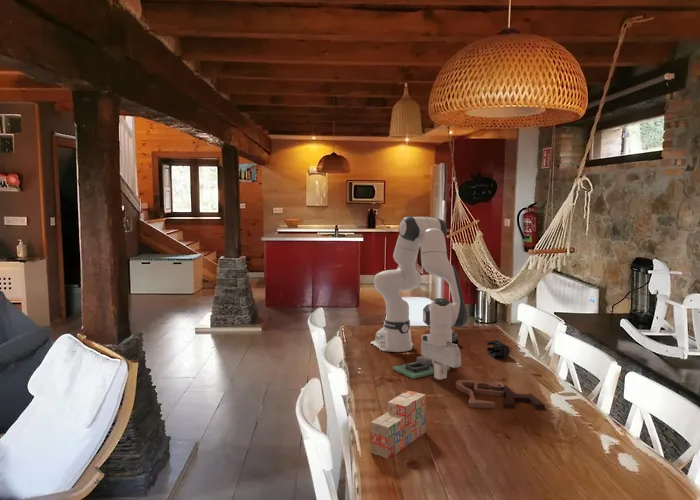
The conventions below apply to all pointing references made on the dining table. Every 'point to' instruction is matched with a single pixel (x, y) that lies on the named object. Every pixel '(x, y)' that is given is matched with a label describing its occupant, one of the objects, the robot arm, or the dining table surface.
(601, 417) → the dining table surface
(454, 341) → the cpu cooler
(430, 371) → the circuit board
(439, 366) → the plug
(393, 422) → the stack of blocks
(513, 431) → the dining table surface
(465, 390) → the wood carving
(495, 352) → the end cap
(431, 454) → the dining table surface
